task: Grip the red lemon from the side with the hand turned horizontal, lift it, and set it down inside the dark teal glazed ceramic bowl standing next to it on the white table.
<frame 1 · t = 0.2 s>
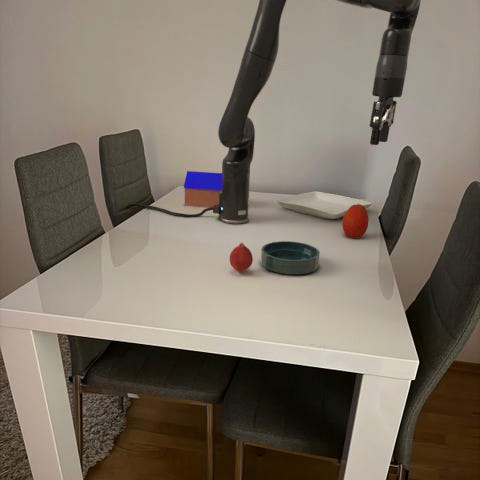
hand: (378, 143, 124), 29 cm above the table, tool pointing down, fingers open, 8 cm apart
square plate: (323, 210, 174), on the table
red lemon: (240, 273, 115), on the table
house: (212, 204, 177), on the table
red egg: (353, 236, 146), on the table
bowl: (289, 265, 121), on the table
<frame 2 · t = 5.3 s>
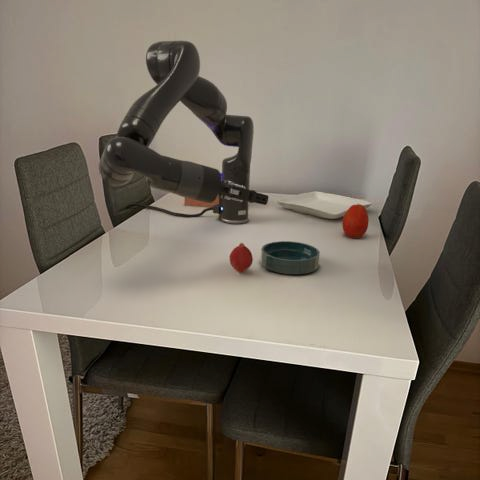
hand: (258, 198, 107), 19 cm above the table, tool tilted 75°, fingers open, 8 cm apart
nothing on the table moved.
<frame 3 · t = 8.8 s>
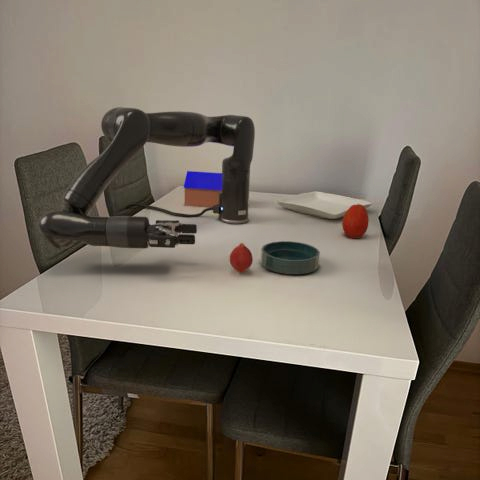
hand: (195, 234, 110), 10 cm above the table, tool horizontal, fingers open, 8 cm apart
nothing on the table moved.
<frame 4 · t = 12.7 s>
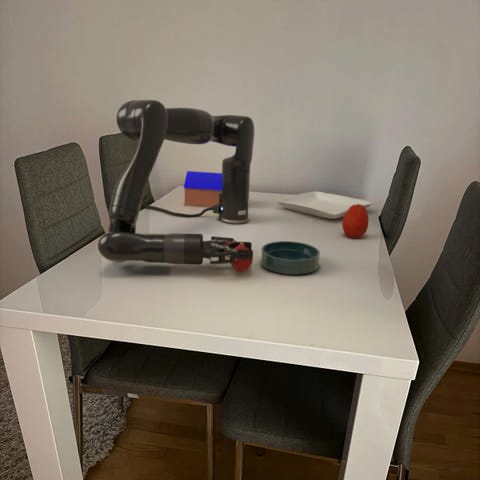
hand: (251, 250, 113), 6 cm above the table, tool horizontal, fingers closed on red lemon, 5 cm apart
red lemon: (240, 273, 115), on the table, touching gripper
everything else where it was.
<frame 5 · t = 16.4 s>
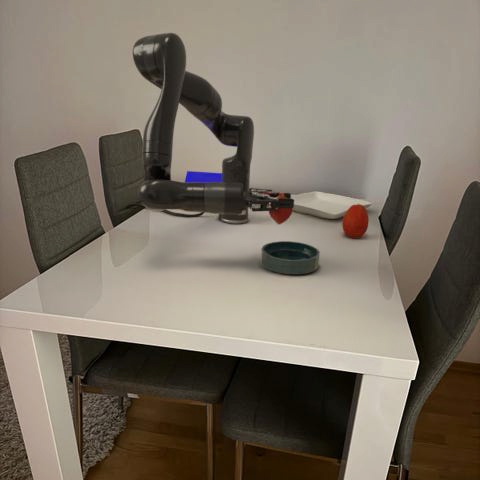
hand: (291, 200, 111), 18 cm above the table, tool horizontal, fingers closed on red lemon, 5 cm apart
red lemon: (279, 224, 114), point 11 cm above the table, touching gripper
everything else where it was.
when the fingers open (7 cm above the table, at t = 20.6 s): red lemon stays where it is, resting on bowl.
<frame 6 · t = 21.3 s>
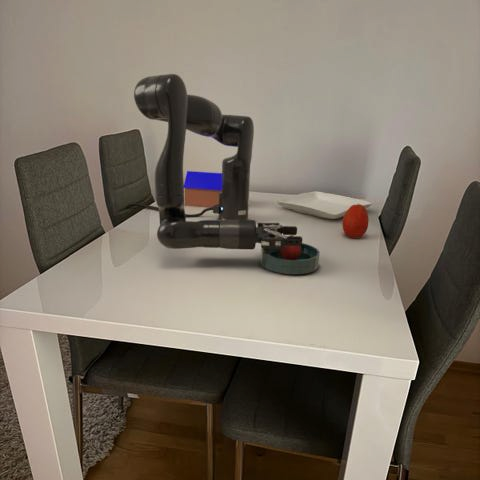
hand: (299, 235, 117), 8 cm above the table, tool horizontal, fingers open, 8 cm apart
red lemon: (288, 264, 121), resting on bowl
everything else where it was.
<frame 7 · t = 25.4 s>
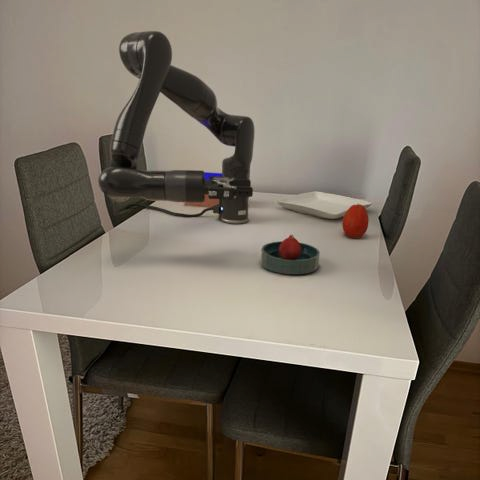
hand: (251, 187, 111), 20 cm above the table, tool horizontal, fingers open, 8 cm apart
nothing on the table moved.
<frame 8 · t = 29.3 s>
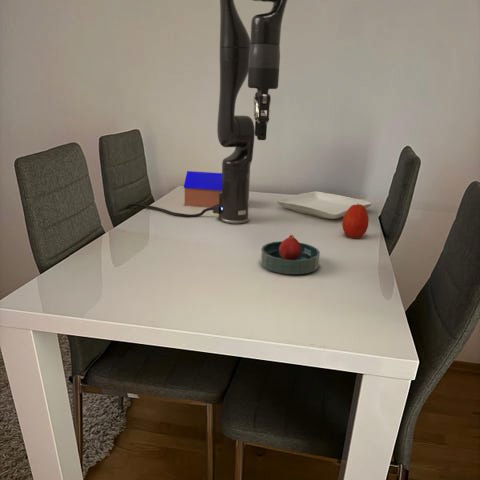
hand: (260, 138, 118), 30 cm above the table, tool pointing down, fingers open, 8 cm apart
nothing on the table moved.
at the end: red lemon inside the target area in the bowl (0.1 cm from its centre), point 0.4 cm above the bowl's base; the gripper is holding nothing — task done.
